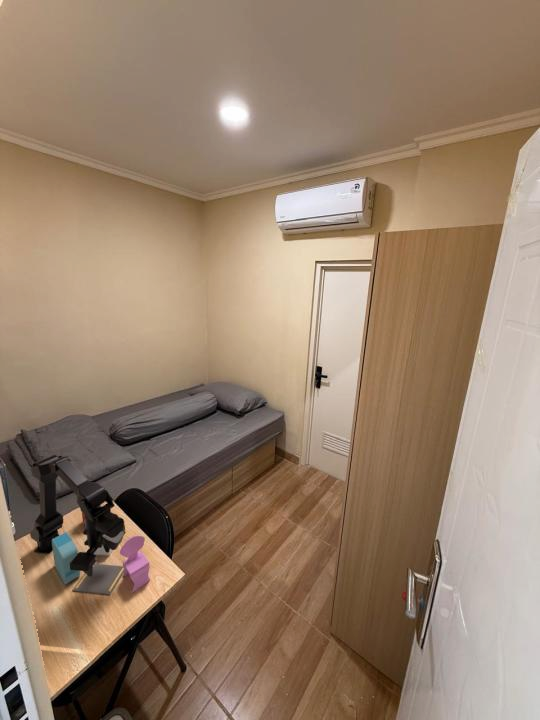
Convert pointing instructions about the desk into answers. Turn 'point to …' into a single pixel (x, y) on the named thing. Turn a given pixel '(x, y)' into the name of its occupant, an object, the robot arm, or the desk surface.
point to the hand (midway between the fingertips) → (99, 563)
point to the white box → (103, 551)
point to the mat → (100, 579)
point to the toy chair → (135, 561)
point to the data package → (64, 557)
